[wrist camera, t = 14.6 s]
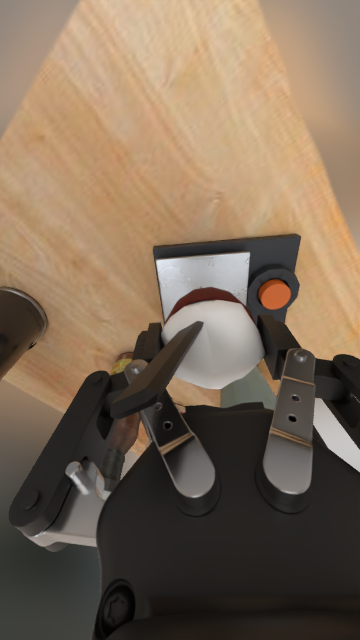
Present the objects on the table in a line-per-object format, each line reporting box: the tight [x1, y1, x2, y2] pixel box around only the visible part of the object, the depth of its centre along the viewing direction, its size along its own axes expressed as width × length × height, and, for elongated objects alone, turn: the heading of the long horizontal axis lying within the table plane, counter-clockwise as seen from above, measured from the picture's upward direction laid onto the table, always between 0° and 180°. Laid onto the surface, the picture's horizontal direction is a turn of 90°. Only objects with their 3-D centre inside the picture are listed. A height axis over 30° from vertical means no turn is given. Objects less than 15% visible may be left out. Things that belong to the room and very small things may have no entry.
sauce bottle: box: [99, 353, 141, 500], centre depth 33 cm, size 6×6×20 cm
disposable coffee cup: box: [220, 366, 277, 410], centre depth 35 cm, size 11×11×15 cm
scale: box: [153, 234, 301, 325], centre depth 31 cm, size 18×13×3 cm
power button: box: [258, 279, 291, 309], centre depth 29 cm, size 4×4×2 cm
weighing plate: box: [156, 251, 250, 321], centre depth 30 cm, size 11×12×1 cm
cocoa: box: [110, 287, 266, 419], centre depth 13 cm, size 10×6×12 cm, turn 14°
